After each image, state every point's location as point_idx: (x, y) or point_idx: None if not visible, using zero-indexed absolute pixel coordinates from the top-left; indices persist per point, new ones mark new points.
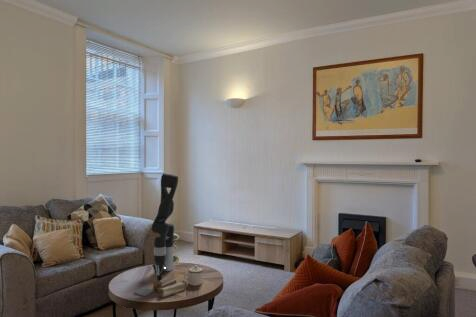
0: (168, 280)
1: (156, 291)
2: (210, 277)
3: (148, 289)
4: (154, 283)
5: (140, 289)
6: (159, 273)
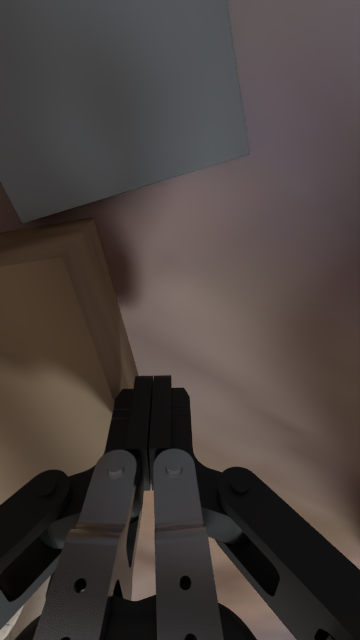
0: (22, 454)
1: (22, 229)
2: None
3: (116, 156)
4: (24, 262)
5: (217, 30)
6: (86, 500)
